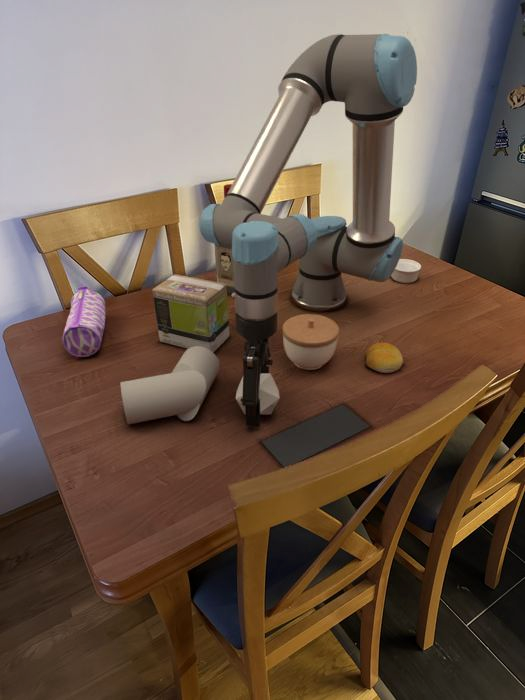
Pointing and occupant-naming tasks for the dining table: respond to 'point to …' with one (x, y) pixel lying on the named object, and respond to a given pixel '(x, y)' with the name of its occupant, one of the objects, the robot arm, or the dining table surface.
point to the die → (262, 394)
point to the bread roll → (384, 358)
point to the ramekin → (406, 271)
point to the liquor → (225, 261)
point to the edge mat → (314, 435)
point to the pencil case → (85, 323)
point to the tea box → (192, 312)
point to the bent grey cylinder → (172, 389)
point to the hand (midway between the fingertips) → (257, 407)
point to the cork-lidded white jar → (310, 340)
